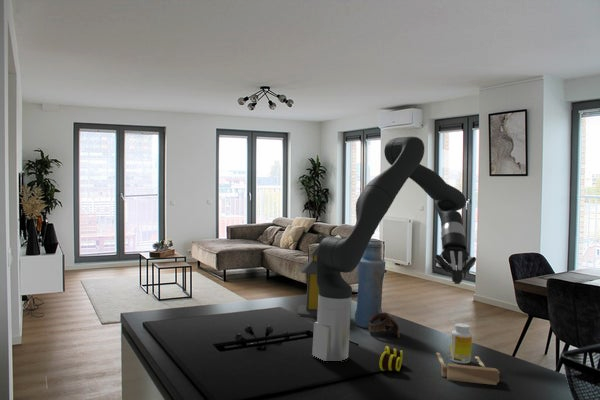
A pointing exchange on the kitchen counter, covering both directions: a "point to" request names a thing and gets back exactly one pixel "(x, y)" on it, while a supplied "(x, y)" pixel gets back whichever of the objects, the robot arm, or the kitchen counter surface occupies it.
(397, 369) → the opera glasses
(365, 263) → the bottle
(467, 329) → the supplement bottle
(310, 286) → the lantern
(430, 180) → the robot arm
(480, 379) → the bay
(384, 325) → the brown jagged curved piece
